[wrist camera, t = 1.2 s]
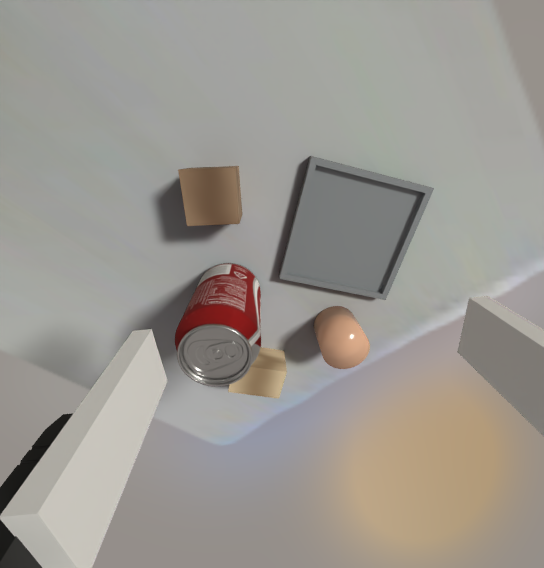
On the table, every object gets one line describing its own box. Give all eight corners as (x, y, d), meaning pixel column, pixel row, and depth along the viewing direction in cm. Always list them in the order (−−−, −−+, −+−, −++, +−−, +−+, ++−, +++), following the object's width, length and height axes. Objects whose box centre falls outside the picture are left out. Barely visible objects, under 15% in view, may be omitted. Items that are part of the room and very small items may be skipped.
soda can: (191, 267, 31) (154, 328, 20) (253, 255, 30) (249, 309, 20) (209, 320, 33) (185, 399, 22) (265, 309, 33) (269, 384, 22)
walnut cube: (197, 216, 29) (186, 225, 25) (190, 167, 27) (178, 169, 23) (242, 214, 29) (239, 223, 25) (238, 166, 27) (234, 167, 23)
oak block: (231, 368, 37) (228, 391, 33) (236, 342, 35) (233, 364, 31) (276, 374, 37) (278, 398, 34) (283, 350, 36) (286, 372, 32)
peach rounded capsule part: (308, 338, 35) (316, 364, 31) (320, 302, 33) (330, 325, 29) (347, 344, 36) (360, 372, 31) (360, 310, 34) (376, 334, 29)
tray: (278, 274, 31) (279, 278, 30) (309, 156, 27) (311, 156, 26) (381, 295, 33) (385, 300, 32) (427, 186, 28) (434, 188, 27)
